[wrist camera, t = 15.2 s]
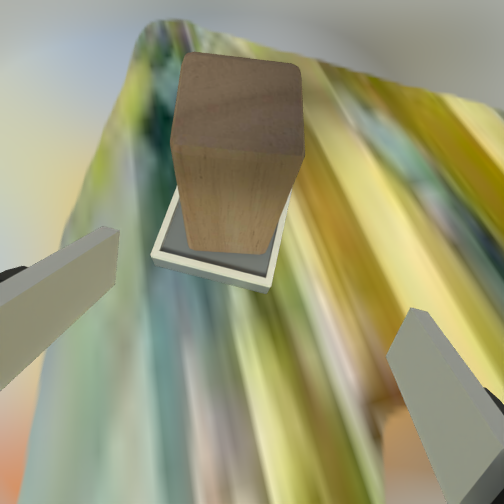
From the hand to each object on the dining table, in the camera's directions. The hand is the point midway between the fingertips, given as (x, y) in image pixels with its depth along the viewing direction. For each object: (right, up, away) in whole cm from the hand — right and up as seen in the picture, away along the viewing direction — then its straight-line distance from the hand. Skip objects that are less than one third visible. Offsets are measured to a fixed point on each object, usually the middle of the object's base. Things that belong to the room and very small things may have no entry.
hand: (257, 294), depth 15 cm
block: (-3, +6, +29) cm, 30 cm away
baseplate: (-4, +5, +31) cm, 32 cm away
